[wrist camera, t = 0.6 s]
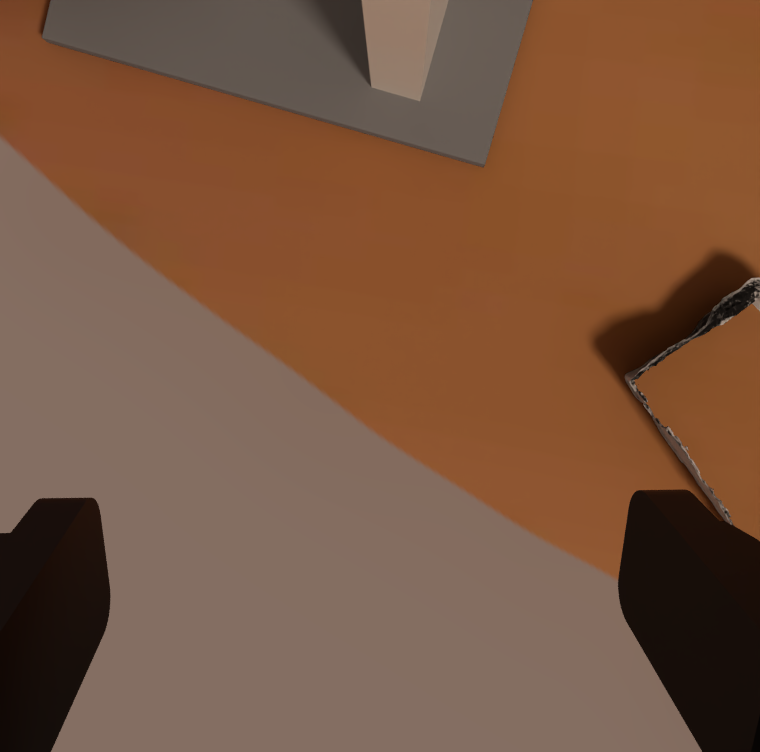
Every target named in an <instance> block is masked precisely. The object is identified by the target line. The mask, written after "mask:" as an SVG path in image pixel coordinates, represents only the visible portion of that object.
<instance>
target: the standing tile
mask: <svg viewBox="0 0 760 752" xmlns="http://www.w3.org/2000/svg"><path fill="white" fill-rule="evenodd" d="M447 4H448V0H362V8H363V17H364V26H365V35H366V44H367V52H368V61H369V70H370V79H371V87H372V88H375V89H379V90H382V91H386V92H389V93H393V94H396V95H400V96H403V97H407V98H410V99H414V100H417V101H420V100H421V96H422V92H423V89H424V85H425V82H426V78H427V75H428V71H429V68H430V64H431V61H432V57H433V54H434V50H435V46H436V43H437V39H438V36H439V32H440V29H441V25H442V22H443V18H444V15H445V11H446V8H447Z"/></svg>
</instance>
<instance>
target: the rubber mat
mask: <svg viewBox="0 0 760 752" xmlns="http://www.w3.org/2000/svg"><path fill="white" fill-rule="evenodd" d="M532 2H533V0H448V4H447V8H446V11H445V15H444V18H443V22H442V25H441V29H440V32H439V36H438V39H437V43H436V46H435V50H434V54H433V57H432V61H431V64H430V68H429V71H428V75H427V78H426V82H425V85H424V89H423V92H422V96H421V100H420V101H417V100H414V99H410V98H407V97H403V96H400V95H396V94H393V93H389V92H386V91H382V90H379V89H375V88H372V87H371V79H370V70H369V61H368V52H367V44H366V35H365V26H364V17H363V8H362V0H51V1H50V5H49V10H48V14H47V18H46V22H45V26H44V31H43V35H42V38H43V39H44V40H46V41H47V42H48V43H52V44H55V45H59V46H62V47H66V48H69V49H73V50H76V51H80V52H83V53H87V54H90V55H94V56H97V57H101V58H104V59H108V60H111V61H115V62H118V63H122V64H125V65H128V66H132V67H135V68H139V69H142V70H146V71H149V72H153V73H156V74H160V75H163V76H167V77H170V78H174V79H177V80H181V81H184V82H188V83H191V84H195V85H198V86H202V87H205V88H209V89H212V90H216V91H219V92H223V93H226V94H229V95H233V96H236V97H240V98H243V99H247V100H250V101H254V102H257V103H261V104H264V105H268V106H271V107H275V108H278V109H282V110H285V111H289V112H292V113H296V114H299V115H303V116H306V117H310V118H313V119H317V120H320V121H323V122H327V123H330V124H334V125H337V126H341V127H344V128H348V129H351V130H355V131H358V132H362V133H365V134H369V135H372V136H376V137H379V138H383V139H386V140H390V141H393V142H397V143H400V144H404V145H407V146H411V147H414V148H418V149H421V150H424V151H428V152H431V153H435V154H438V155H442V156H445V157H449V158H452V159H456V160H459V161H463V162H466V163H470V164H473V165H477V166H480V167H484V165H485V162H486V159H487V156H488V152H489V149H490V145H491V142H492V138H493V135H494V132H495V128H496V125H497V121H498V118H499V114H500V111H501V108H502V104H503V101H504V97H505V94H506V91H507V87H508V84H509V80H510V77H511V73H512V70H513V67H514V63H515V60H516V56H517V53H518V50H519V46H520V43H521V39H522V36H523V32H524V29H525V26H526V22H527V19H528V15H529V12H530V9H531V5H532Z"/></svg>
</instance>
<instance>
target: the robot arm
mask: <svg viewBox="0 0 760 752" xmlns="http://www.w3.org/2000/svg"><path fill="white" fill-rule="evenodd" d="M618 590H619V599H620V604H621V609H622V612H623V615H624V617H625V619H626V622H627V623H628V625H629V627H630V628H631V630H632V632H633V634H634V635H635V637H636V639H637V641H638V642H639V644H640V646H641V647H642V649H643V651H644V653H645V654H646V656H647V657H648V659H649V661H650V663H651V664H652V666H653V668H654V670H655V671H656V673H657V675H658V676H659V678H660V680H661V682H662V683H663V685H664V687H665V688H666V690H667V692H668V694H669V695H670V697H671V699H672V700H673V702H674V704H675V706H676V707H677V709H678V711H679V712H680V714H681V716H682V717H683V719H684V721H685V723H686V724H687V726H688V728H689V730H690V731H691V733H692V735H693V736H694V738H695V740H696V742H697V743H698V745H699V747H700V748H701V750H702V752H760V541H759V540H757V539H755V538H754V537H752V536H750V535H749V534H747V533H745V532H743V531H742V530H740V529H738V528H736V527H735V526H733V525H731V524H729V523H728V522H726V521H719V520H718V519H717V518H716V517H715V516H714V515H713V514H712V513H711V512H710V511H709V510H708V509H707V508H706V507H705V506H704V505H703V504H702V503H701V502H700V501H699V500H698V499H697V497H696V496H695V495H694V494H693V493H691V492H690V491H688V490H639V491H636V492H635V493H634V494H633V496H632V498H631V500H630V504H629V510H628V517H627V523H626V530H625V537H624V544H623V551H622V558H621V564H620V571H619V579H618ZM109 610H110V585H109V577H108V569H107V561H106V553H105V546H104V538H103V530H102V523H101V515H100V510H99V506H98V504H97V502H96V500H95V499H94V498H42V499H38V500H37V501H36V502H35V503H34V504H33V505H32V507H31V508H30V509H29V510H28V512H27V513H26V514H25V516H24V517H23V518H22V519H21V521H20V522H19V523H18V524H17V526H16V527H15V528H14V529H13V531H12V532H11V533H0V752H51V750H52V748H53V746H54V744H55V741H56V739H57V737H58V735H59V732H60V730H61V728H62V726H63V724H64V721H65V719H66V717H67V715H68V712H69V710H70V708H71V706H72V704H73V701H74V699H75V697H76V695H77V692H78V690H79V688H80V686H81V684H82V681H83V679H84V677H85V675H86V672H87V670H88V668H89V666H90V663H91V661H92V659H93V657H94V655H95V653H96V650H97V648H98V646H99V644H100V641H101V639H102V637H103V635H104V632H105V629H106V626H107V622H108V617H109Z"/></svg>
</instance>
